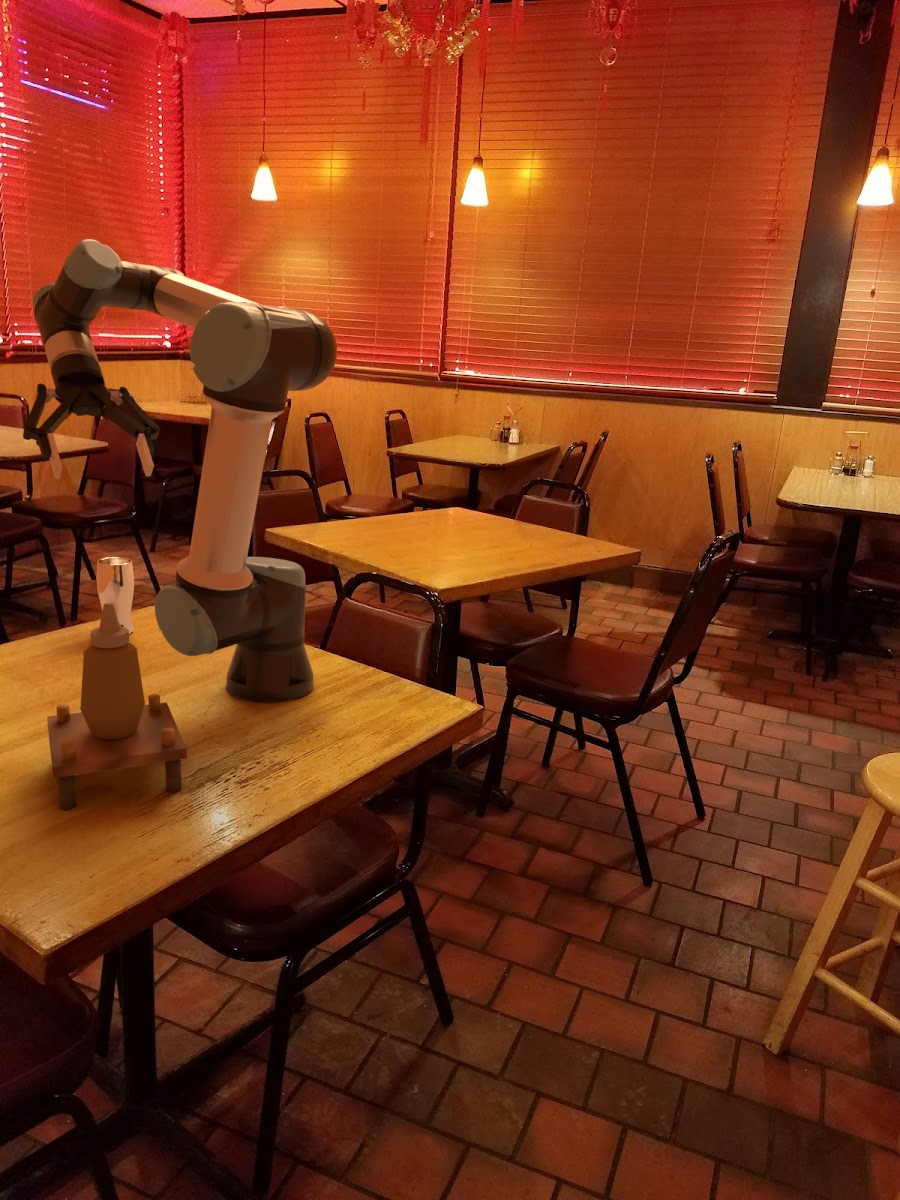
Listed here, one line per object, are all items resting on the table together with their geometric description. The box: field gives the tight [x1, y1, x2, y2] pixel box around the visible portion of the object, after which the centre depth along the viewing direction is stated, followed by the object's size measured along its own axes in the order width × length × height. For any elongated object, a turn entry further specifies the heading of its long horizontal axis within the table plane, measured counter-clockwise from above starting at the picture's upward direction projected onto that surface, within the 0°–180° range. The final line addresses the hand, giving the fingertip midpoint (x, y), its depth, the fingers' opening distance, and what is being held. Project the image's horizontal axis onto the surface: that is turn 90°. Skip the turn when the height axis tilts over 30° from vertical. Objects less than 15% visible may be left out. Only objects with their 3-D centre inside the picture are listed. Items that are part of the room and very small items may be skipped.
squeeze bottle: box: [80, 603, 146, 739], centre depth 111 cm, size 8×8×18 cm
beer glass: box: [96, 556, 135, 634], centre depth 169 cm, size 7×7×15 cm
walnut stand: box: [46, 693, 188, 811], centre depth 114 cm, size 16×16×8 cm
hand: (105, 472), depth 130 cm, fingers open, 13 cm apart
